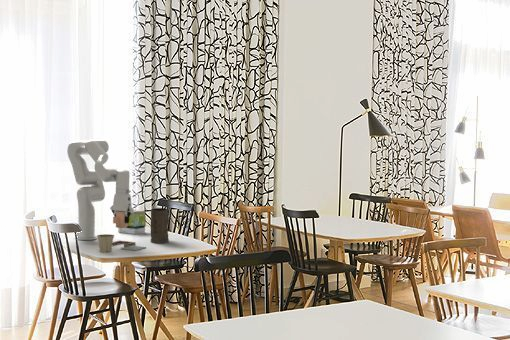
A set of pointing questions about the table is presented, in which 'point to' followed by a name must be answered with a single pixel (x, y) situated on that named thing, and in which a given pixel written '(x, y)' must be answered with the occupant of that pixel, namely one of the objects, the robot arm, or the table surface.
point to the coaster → (133, 248)
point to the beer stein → (159, 225)
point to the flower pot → (105, 242)
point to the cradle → (126, 243)
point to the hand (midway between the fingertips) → (121, 222)
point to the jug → (120, 219)
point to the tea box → (135, 223)
